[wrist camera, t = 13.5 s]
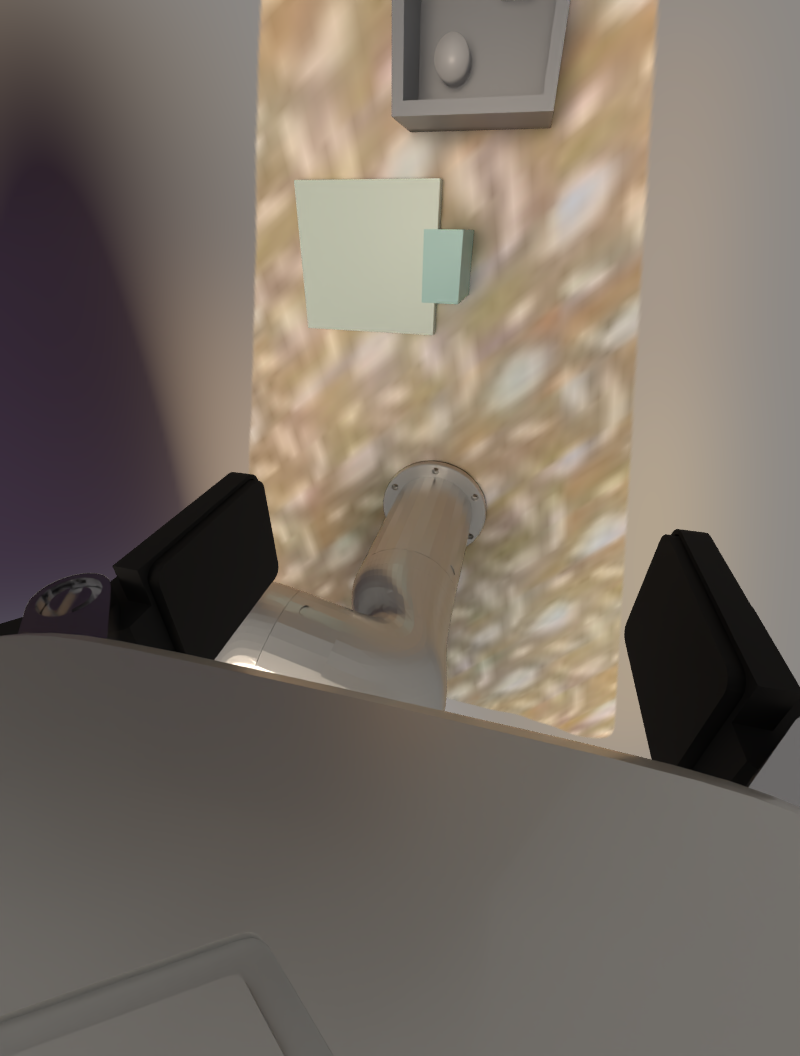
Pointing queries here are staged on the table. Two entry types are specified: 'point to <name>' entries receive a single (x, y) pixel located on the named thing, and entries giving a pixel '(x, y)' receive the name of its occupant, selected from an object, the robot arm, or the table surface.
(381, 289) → the board with teal handle
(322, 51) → the table surface
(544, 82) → the tub
